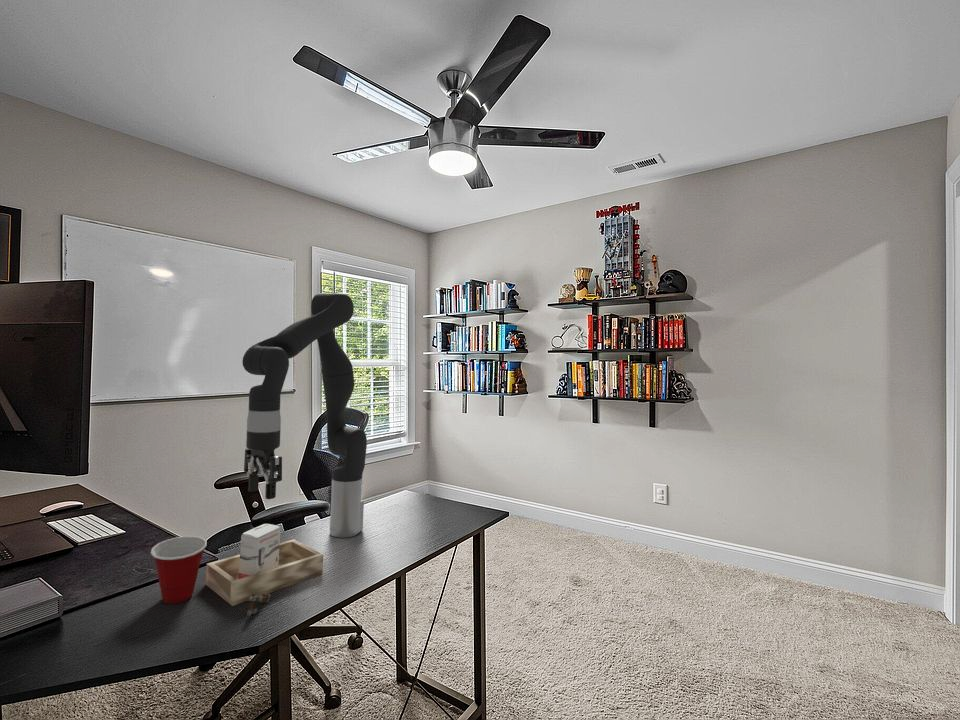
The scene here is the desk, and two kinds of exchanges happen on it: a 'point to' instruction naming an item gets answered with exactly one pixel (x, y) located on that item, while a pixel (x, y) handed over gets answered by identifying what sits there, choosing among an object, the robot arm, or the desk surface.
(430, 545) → the desk surface
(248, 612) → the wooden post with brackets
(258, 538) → the ink box
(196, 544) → the plastic cup
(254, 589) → the trough
